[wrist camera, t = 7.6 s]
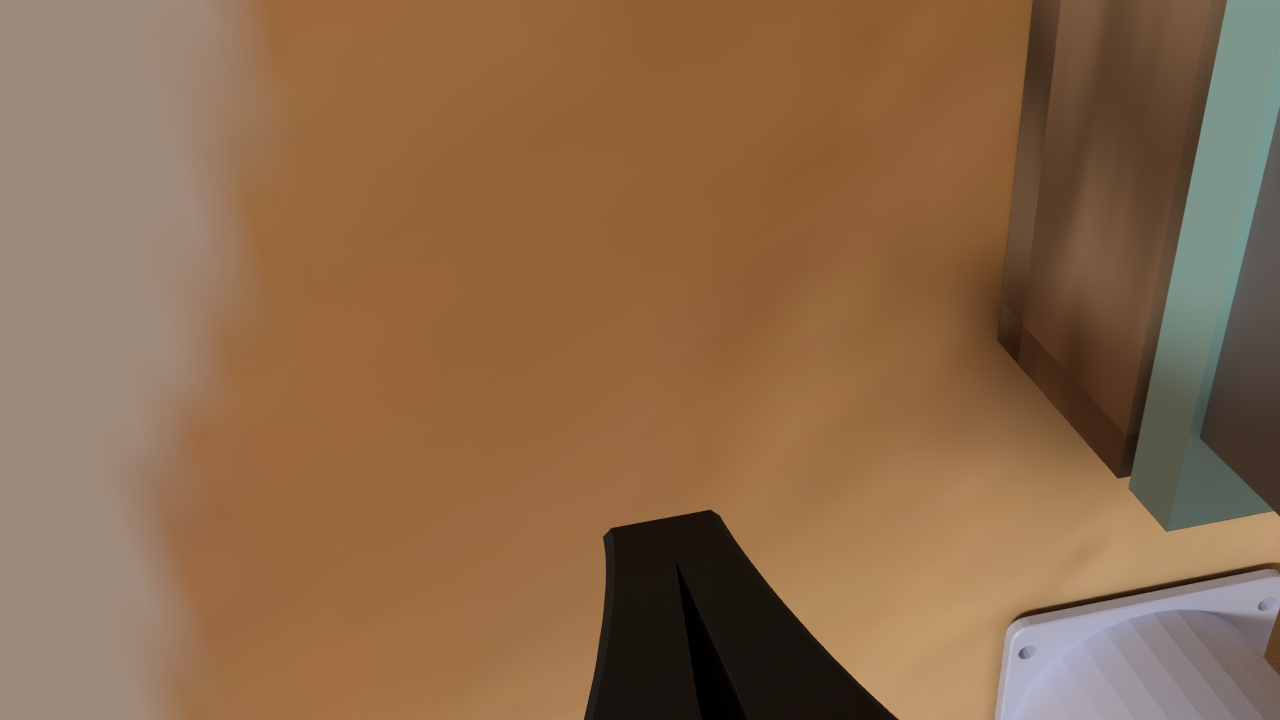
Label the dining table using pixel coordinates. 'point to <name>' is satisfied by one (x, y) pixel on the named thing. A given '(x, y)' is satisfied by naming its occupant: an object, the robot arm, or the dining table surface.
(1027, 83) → the crate
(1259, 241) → the lid
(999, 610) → the dining table surface
